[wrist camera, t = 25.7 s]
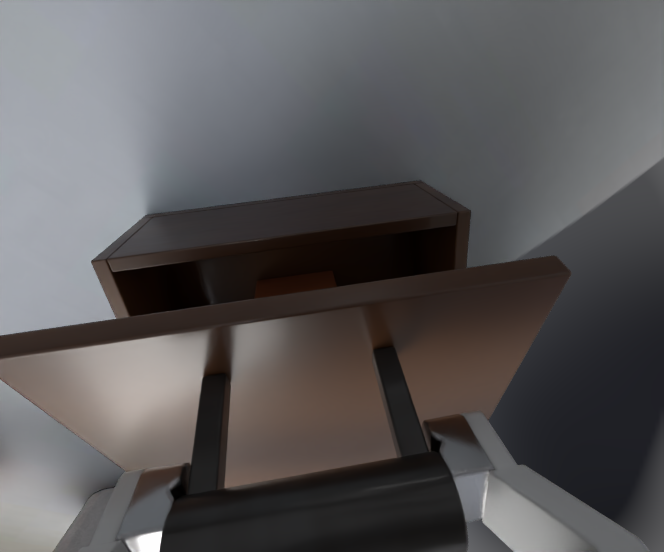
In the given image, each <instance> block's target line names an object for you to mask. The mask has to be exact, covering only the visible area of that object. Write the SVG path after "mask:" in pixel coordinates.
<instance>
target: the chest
mask: <svg viewBox="0 0 664 552" xmlns="http://www.w3.org/2000/svg"><path fill="white" fill-rule="evenodd" d="M470 217H471V210H469V209H468V208H466V207H464V206H463V205H461V204H459V203H458V202H456V201H454V200H453V199H451V198H449V197H448V196H446V195H444V194H442V193H441V192H439V191H437V190H436V189H434V188H432V187H431V186H429V185H427V184H426V183H424V182H423V181H421V180H419V181H411V182H403V183H395V184H387V185H380V186H372V187H364V188H356V189H348V190H340V191H332V192H325V193H317V194H309V195H301V196H293V197H285V198H278V199H270V200H262V201H254V202H246V203H238V204H230V205H223V206H215V207H207V208H199V209H191V210H183V211H175V212H168V213H160V214H152V215H145V216H144V217H143V218H142V219H141V220H139V221H138V222H137V223H136V224H135V225H133V226H132V227H131V228H130V229H129V230H128V231H126V232H125V233H124V234H123V235H122V236H120V237H119V238H118V239H117V240H116V241H115V242H113V243H112V244H111V245H110V246H109V247H107V248H106V249H105V250H104V251H103V252H102V253H100V254H99V255H98V256H97V257H96V258H94V259H93V260H92V261H91V263H92V265H93V268H94V270H95V272H96V274H97V276H98V279H99V281H100V283H101V285H102V288H103V290H104V292H105V294H106V297H107V299H108V301H109V303H110V306H111V308H112V310H113V312H114V314H115V317H116V319H118V318H125V317H132V316H139V315H146V314H153V313H160V312H166V311H173V310H180V309H187V308H194V307H201V306H208V305H215V304H222V303H229V302H235V301H242V300H249V299H254V298H255V291H256V284H257V281H258V280H266V279H273V278H280V277H288V276H295V275H302V274H310V273H317V272H324V271H332V272H333V275H334V278H335V282H336V285H337V287H339V286H346V285H353V284H359V283H366V282H373V281H380V280H387V279H394V278H401V277H408V276H415V275H422V274H428V273H435V272H442V271H449V270H456V269H463V268H466V265H467V253H468V241H469V229H470Z"/></svg>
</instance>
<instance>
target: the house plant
mask: <svg viewBox="0 0 664 552" xmlns="http://www.w3.org/2000/svg"><path fill="white" fill-rule="evenodd" d="M113 490H114V488H109V489H104V490H101V491H99V492H96V493H95V494H93V495H92V496H91V497H90V498H89V499H88V501H87V502H86V503H85V505H84V506H83V508H82V509H81V511H80V512H79V514H78V515H77V517H76V518H75V520H74V521H73V523H72V524H71V526H70V527H69V529H68V530H67V531H66V533H65V534H64V536H63V537H62V539H61V540H60V542H59V543H58V545H57V546H56V548H55V549H54V551H53V552H78V551H79V550H80V549H81V548H82V547H86V546H89V544H90V542H91V540H92V537H93V535H94V533H95V531H96V528H97V526H98V524H99V522H100V520H101V517H102V515H103V513H104V511H105V508H106V506H107V504H108V502H109V499H110V497H111V495H112V493H113Z"/></svg>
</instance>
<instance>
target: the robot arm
mask: <svg viewBox="0 0 664 552" xmlns="http://www.w3.org/2000/svg"><path fill="white" fill-rule="evenodd" d="M422 431H423V434H424V436H425V440H426V443H427V446H428V449H429V452H430V451H435V452H438V453H439V454H440V455H441V457H442V458H443V459H444V461H445V463H446V464H447V466H448V468H449V470H450V472H451V475H452V477H453V479H454V481H455V484H456V487H457V490H458V493H459V496H460V499H461V503H462V506H463V510H464V514H465V519H466V522H472V521H478V520H483V521H482V522H483V523H484V524H485V525H486V526H487V527H488V528H489V529H490V530H491V531H492V532H493V533H495V534H496V535H497V536H498V537H499V538H500V539H501V540H502V541H503V542H504V543H506V545H507V546H508V547H510V549H512V550H513V551H514V552H650V551H649V549H648V548H647V547H646V546H645V545H644V543H643V542H642V541H641V540H640V539H639V538H638V537H637V536H635V535H634V534H632V533H630V532H629V531H627V530H626V529H624V528H622V527H621V526H619V525H618V524H616V523H615V522H613V521H612V520H610V519H608V518H607V517H605V516H604V515H602V514H600V513H599V512H597V511H596V510H594V509H593V508H591V507H589V506H588V505H586V504H585V503H583V502H582V501H580V500H578V499H577V498H575V497H574V496H572V495H571V494H569V493H567V492H566V491H564V490H563V489H561V488H560V487H558V486H556V485H555V484H553V483H552V482H550V481H549V480H547V479H545V478H544V477H542V476H541V475H539V474H537V473H536V472H534V471H533V470H531V469H530V468H528V467H527V466H525V465H517V464H516V462H515V461H514V459H513V458H512V456H511V455H510V453H509V452H508V450H507V449H506V447H505V446H504V444H503V443H502V441H501V439H500V438H499V436H498V435H497V433H496V432H495V430H494V429H493V427H492V426H491V425H490V423H489V421H488V420H487V418H486V417H485V415H484V414H483V413H482V412H481V411H473V412H468V413H462V414H454V415H449V416H444V417H438V418H433V419H428V420H424V421H423V423H422ZM190 467H191V465H190V463H189V462H188V463H180V464H174V465H167V466H160V467H153V468H146V469H141V470H134V471H128V472H124V473H123V475H122V476H121V477H120V478H119V479H118V481H117V484H116V486H115V488H114V490H113V493H112V495H111V497H110V499H109V502H108V504H107V506H106V508H105V511H104V513H103V515H102V517H101V520H100V522H99V524H98V526H97V528H96V531H95V533H94V535H93V537H92V540H91V542H90V544H89V546H86V547H82V548H81V549H80V550H79V551H78V552H159V548H160V541H161V536H162V531H163V527H164V524H165V520H166V517H167V515H168V513H169V512H170V510H171V508H172V506H173V504H174V503H175V500H176V499H178V498H179V497H181V496H184V495H187V490H188V482H189V474H190Z"/></svg>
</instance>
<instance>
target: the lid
mask: <svg viewBox="0 0 664 552" xmlns="http://www.w3.org/2000/svg"><path fill="white" fill-rule="evenodd" d="M570 276H571V271H570V270H569V269H568V268H567V267H566V266H565V265H564V264H563V263H562V261H561V260H560V259H559V258H558V257H557V256H554V255H553V256H546V257H539V258H532V259H525V260H518V261H511V262H504V263H497V264H490V265H484V266H477V267H470V268H463V269H456V270H449V271H442V272H435V273H428V274H422V275H415V276H408V277H401V278H394V279H387V280H380V281H373V282H366V283H359V284H353V285H346V286H339V287H332V288H325V289H318V290H311V291H304V292H297V293H291V294H284V295H277V296H270V297H263V298H256V299H249V300H242V301H235V302H229V303H222V304H215V305H208V306H201V307H194V308H187V309H180V310H173V311H166V312H160V313H153V314H146V315H139V316H132V317H125V318H118V319H111V320H104V321H98V322H91V323H84V324H77V325H70V326H63V327H56V328H49V329H42V330H35V331H29V332H22V333H15V334H8V335H1V336H0V379H1V380H2V381H3V382H5V383H6V384H7V385H9V386H10V387H11V388H13V389H14V390H16V391H17V392H18V393H20V394H21V395H22V396H24V397H25V398H26V399H28V400H29V401H31V402H32V403H33V404H35V405H36V406H37V407H39V408H40V409H41V410H43V411H44V412H45V413H47V414H48V415H50V416H51V417H52V418H54V419H55V420H56V421H58V422H59V423H60V424H62V425H63V426H65V427H66V428H67V429H69V430H70V431H71V432H73V433H74V434H75V435H77V436H78V437H80V438H81V439H82V440H84V441H85V442H86V443H88V444H89V445H90V446H92V447H93V448H95V449H96V450H97V451H99V452H100V453H101V454H103V455H104V456H105V457H107V458H108V459H110V460H111V461H112V462H114V463H115V464H116V465H118V466H119V467H120V468H122V469H123V470H125V471H126V472H128V471H134V470H141V469H146V468H153V467H160V466H167V465H174V464H180V463H188V462H189V463H190V465H191V467H190V474H189V482H188V490H187V495H184V496H181V497H179V498H178V499H176V500H175V503H174V504H173V506H172V508H171V510H170V512H169V513H168V515H167V517H166V520H165V524H164V527H163V531H162V536H161V541H160V548H159V552H467V550H468V532H467V525H466V519H465V514H464V510H463V506H462V503H461V499H460V496H459V493H458V490H457V487H456V484H455V481H454V479H453V477H452V475H451V472H450V470H449V468H448V466H447V464H446V463H445V461H444V459H443V458H442V457H441V455H440V454H439V453H438V452H435V451H430V452H429V449H428V446H427V443H426V440H425V436H424V434H423V431H422V423H423V421H424V420H428V419H433V418H438V417H444V416H449V415H454V414H462V413H468V412H473V411H481V412H482V413H483V414H484V415H485V417H486V418H487V420H489V418H490V416H491V415H492V413H493V411H494V409H495V407H496V406H497V404H498V402H499V401H500V399H501V397H502V396H503V394H504V392H505V390H506V388H507V387H508V385H509V383H510V381H511V380H512V378H513V376H514V374H515V373H516V371H517V369H518V367H519V366H520V364H521V362H522V360H523V359H524V357H525V355H526V353H527V351H528V350H529V348H530V346H531V344H532V343H533V341H534V339H535V337H536V336H537V334H538V332H539V330H540V329H541V327H542V325H543V323H544V322H545V320H546V318H547V316H548V314H549V313H550V311H551V309H552V307H553V306H554V304H555V302H556V300H557V299H558V297H559V295H560V293H561V292H562V290H563V288H564V286H565V284H566V283H567V281H568V279H569V277H570Z"/></svg>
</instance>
